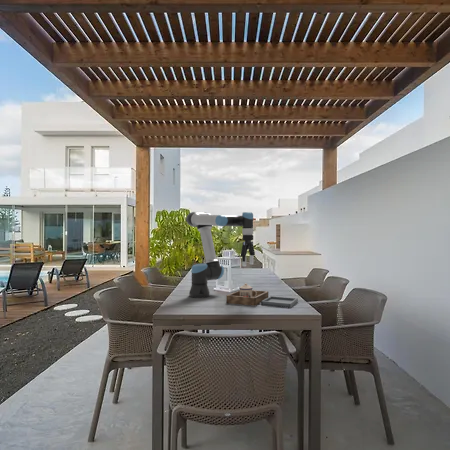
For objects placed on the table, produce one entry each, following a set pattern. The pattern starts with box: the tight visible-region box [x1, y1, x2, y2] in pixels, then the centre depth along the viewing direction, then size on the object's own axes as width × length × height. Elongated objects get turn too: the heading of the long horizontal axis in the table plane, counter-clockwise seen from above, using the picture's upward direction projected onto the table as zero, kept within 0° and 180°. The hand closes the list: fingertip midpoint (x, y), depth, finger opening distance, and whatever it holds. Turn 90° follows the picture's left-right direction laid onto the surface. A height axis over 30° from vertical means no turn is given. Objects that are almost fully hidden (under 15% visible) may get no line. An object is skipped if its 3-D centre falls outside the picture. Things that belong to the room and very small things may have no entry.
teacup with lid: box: [239, 283, 257, 297], centre depth 235 cm, size 12×9×12 cm
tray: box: [260, 295, 299, 309], centre depth 226 cm, size 19×19×2 cm
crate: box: [225, 289, 269, 306], centre depth 235 cm, size 20×26×5 cm
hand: (248, 265), depth 236 cm, fingers open, 13 cm apart
